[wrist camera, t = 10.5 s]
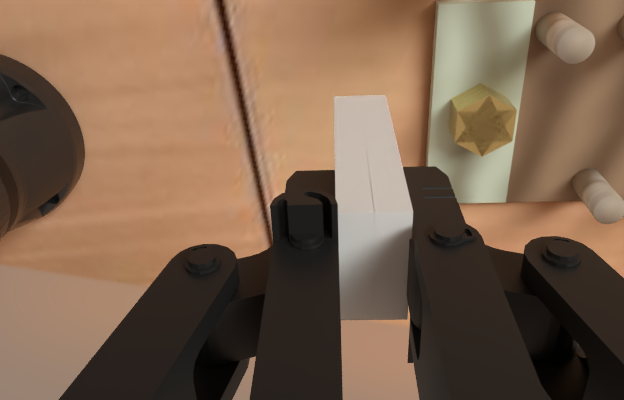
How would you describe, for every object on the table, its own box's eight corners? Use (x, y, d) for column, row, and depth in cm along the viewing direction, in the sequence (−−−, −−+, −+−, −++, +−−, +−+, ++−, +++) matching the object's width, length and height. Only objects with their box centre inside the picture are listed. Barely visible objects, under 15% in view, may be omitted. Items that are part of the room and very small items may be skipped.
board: (423, 197, 52) (434, 235, 47) (435, 0, 44) (450, 20, 38) (686, 192, 51) (728, 230, 46) (751, -11, 42) (812, 7, 37)
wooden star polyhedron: (447, 142, 48) (453, 157, 46) (452, 83, 45) (459, 95, 43) (501, 141, 48) (510, 156, 45) (509, 81, 45) (519, 94, 43)
